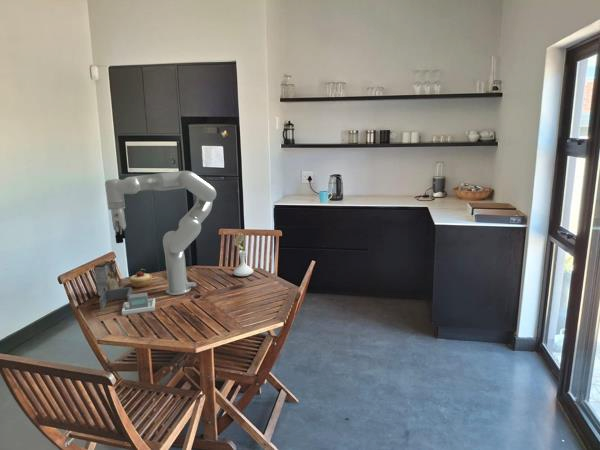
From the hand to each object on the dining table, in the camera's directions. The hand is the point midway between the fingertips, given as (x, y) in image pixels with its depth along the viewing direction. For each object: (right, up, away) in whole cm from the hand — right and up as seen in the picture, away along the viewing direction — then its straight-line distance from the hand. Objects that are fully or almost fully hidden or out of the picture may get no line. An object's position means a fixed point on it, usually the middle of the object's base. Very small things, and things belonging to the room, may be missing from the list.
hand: (120, 240), depth 215 cm
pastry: (0, -25, +29) cm, 38 cm away
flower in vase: (+54, -21, +38) cm, 69 cm away
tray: (+11, -32, -6) cm, 34 cm away
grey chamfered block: (+11, -31, -6) cm, 33 cm away
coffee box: (-14, -28, +18) cm, 36 cm away
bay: (-3, -30, +3) cm, 31 cm away
